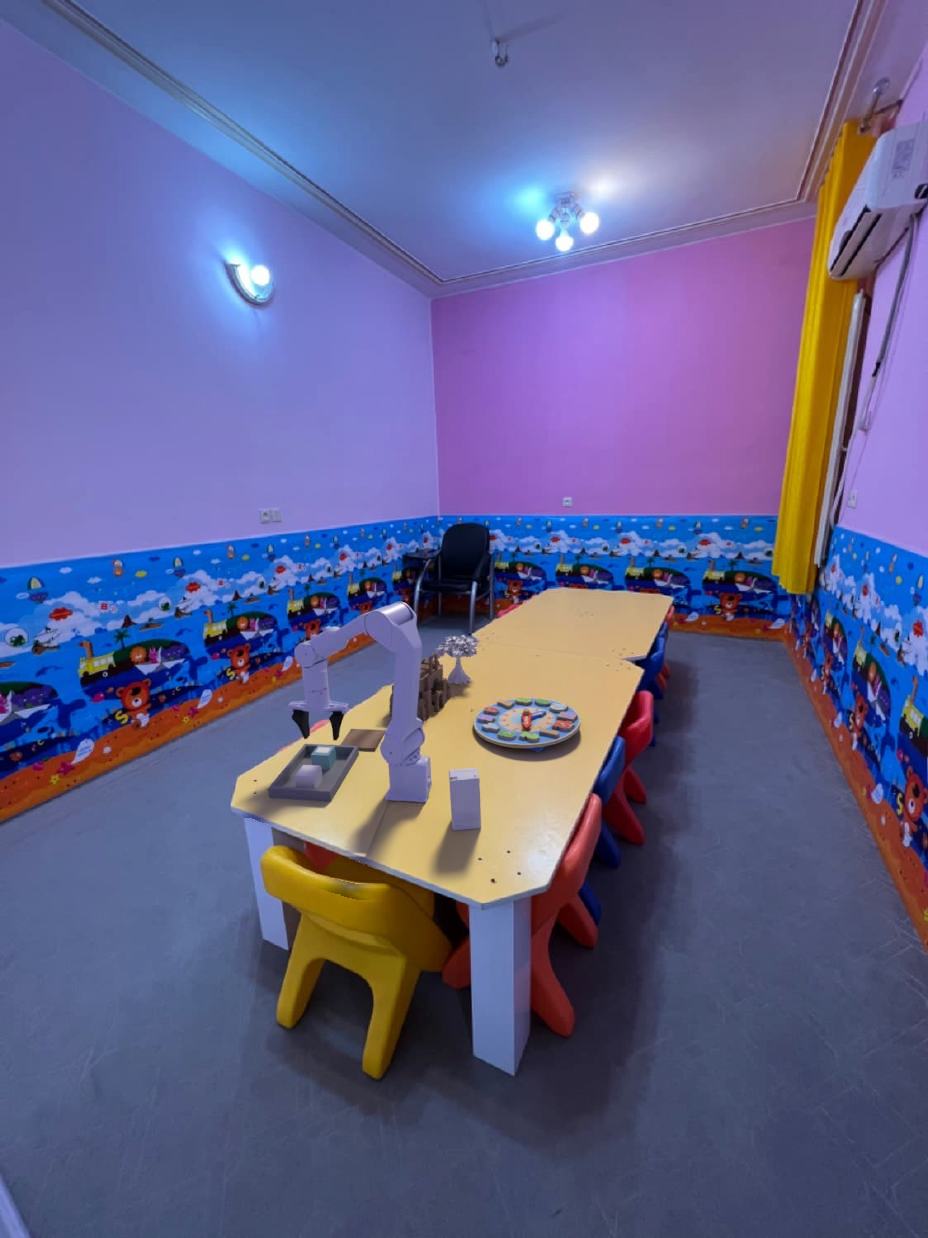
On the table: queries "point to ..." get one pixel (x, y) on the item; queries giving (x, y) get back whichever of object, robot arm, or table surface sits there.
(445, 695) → the brown wooden block structure
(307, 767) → the plain block
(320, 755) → the labelled block
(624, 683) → the table surface
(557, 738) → the shape sorting clock
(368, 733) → the pad
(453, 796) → the skincare box
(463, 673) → the tree
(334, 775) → the bin
